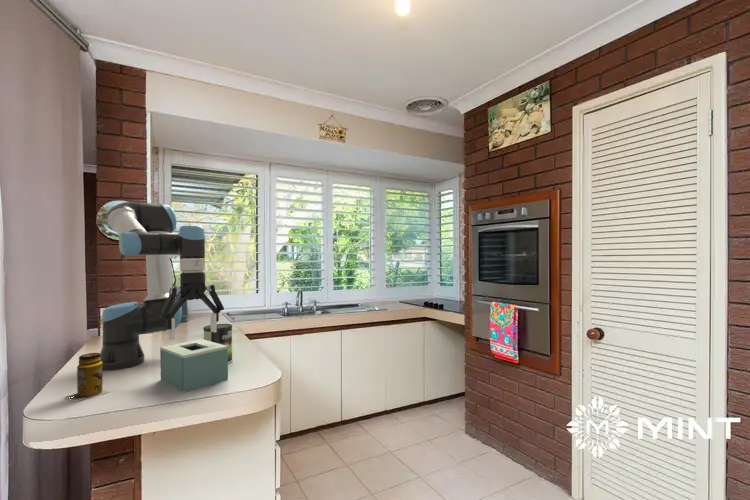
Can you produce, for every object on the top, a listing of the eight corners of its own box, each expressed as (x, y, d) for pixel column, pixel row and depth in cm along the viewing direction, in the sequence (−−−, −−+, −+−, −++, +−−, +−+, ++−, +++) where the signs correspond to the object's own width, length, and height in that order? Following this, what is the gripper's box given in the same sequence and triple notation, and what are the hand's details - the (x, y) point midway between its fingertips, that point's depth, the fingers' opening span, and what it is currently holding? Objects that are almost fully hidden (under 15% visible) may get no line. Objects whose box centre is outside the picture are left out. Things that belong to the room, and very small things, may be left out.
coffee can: (237, 358, 145) (237, 323, 145) (223, 366, 135) (222, 328, 135) (214, 358, 147) (213, 323, 147) (197, 366, 137) (197, 328, 137)
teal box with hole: (160, 380, 122) (160, 347, 122) (202, 369, 132) (202, 339, 133) (184, 392, 110) (183, 355, 110) (228, 379, 121) (227, 346, 121)
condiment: (108, 392, 111) (108, 353, 112) (75, 402, 104) (75, 360, 104) (96, 388, 115) (96, 350, 115) (63, 398, 107) (63, 357, 108)
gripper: (156, 273, 110) (157, 344, 109) (233, 270, 129) (234, 330, 129) (146, 273, 115) (147, 341, 114) (222, 270, 134) (223, 327, 133)
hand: (193, 335), depth 121 cm, fingers open, 13 cm apart
